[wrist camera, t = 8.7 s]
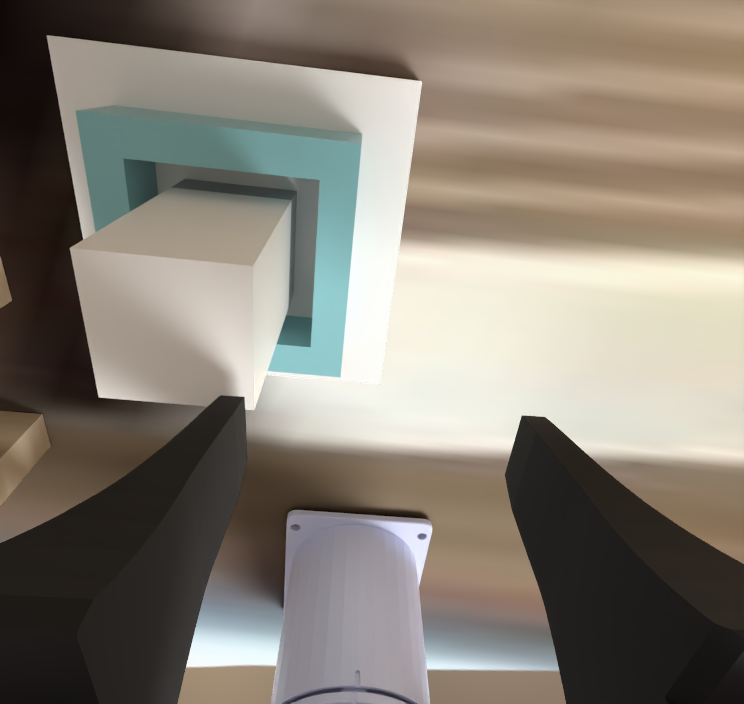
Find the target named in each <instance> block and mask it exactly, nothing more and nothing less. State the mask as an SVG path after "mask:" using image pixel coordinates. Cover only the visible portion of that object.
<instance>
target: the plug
mask: <svg viewBox="0 0 744 704" xmlns="http://www.w3.org/2000/svg"><path fill="white" fill-rule="evenodd" d="M296 205H297V191H294V190H285V189H276V188H266V187H257V186H248V185H239V184H229V183H220V182H211V181H202V180H192V179H184V180H182V181H181V182H179V183H177V184H176V185H174V186H172V187H171V188H169V189H167V190H166V191H164V192H162V193H161V194H159V195H157V196H156V197H154V198H152V199H151V200H149V201H147V202H146V203H144V204H142V205H141V206H139V207H137V208H136V209H134V210H132V211H131V212H129V213H127V214H126V215H124V216H122V217H121V218H119V219H117V220H116V221H114V222H112V223H111V224H109V225H107V226H106V227H104V228H102V229H101V230H99V231H97V232H96V233H94V234H92V235H91V236H89V237H87V238H86V239H84V240H82V241H81V242H79V243H77V244H76V245H74V246H72V247H71V248H70V252H71V257H72V262H73V268H74V273H75V278H76V283H77V288H78V293H79V299H80V304H81V309H82V314H83V319H84V324H85V329H86V335H87V340H88V345H89V350H90V355H91V360H92V366H93V371H94V376H95V381H96V386H97V391H98V396H99V398H112V399H124V400H136V401H148V402H160V403H172V404H185V405H197V406H209V405H210V404H211V403H212V402H213V401H214V400H215V399H217V398H218V397H219V396H220V395H224V396H239V397H245V409H246V410H255V407H256V404H257V401H258V398H259V395H260V392H261V389H262V386H263V383H264V380H265V377H266V374H267V371H268V368H269V365H270V362H271V359H272V356H273V353H274V350H275V347H276V344H277V341H278V338H279V335H280V332H281V329H282V326H283V323H284V320H285V317H286V314H287V311H288V308H289V305H290V302H291V299H292V296H293V293H294V265H295V235H296Z"/></svg>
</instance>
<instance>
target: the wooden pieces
mask: <svg viewBox="0 0 744 704" xmlns="http://www.w3.org/2000/svg"><path fill="white" fill-rule="evenodd" d="M11 301H12V298H11V294H10V291H9V287H8V283H7V279H6V276H5V272H4V268H3V264H2V261H1V257H0V308H1V307H3V306H5V305H6V304H8V303H9V302H11ZM50 446H51V445H50V441H49V437H48V433H47V430H46V426H45V422H44V418H43V415H42V414H36V413H23V412H11V411H0V506H1V505H2V503H3V502H4V501H5V500H6V499H7V497H8V496H9V495H10V494H11V493H12V492H13V490H14V489H15V488H16V487H17V486H18V484H19V483H20V482H21V481H22V480H23V478H24V477H25V476H26V475H27V474H28V473H29V471H30V470H31V469H32V468H33V467H34V465H35V464H36V463H37V462H38V461H39V459H40V458H41V457H42V456H43V455H44V454H45V452H46V451H47V450H48V449H49V448H50Z"/></svg>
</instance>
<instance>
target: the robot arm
mask: <svg viewBox="0 0 744 704" xmlns="http://www.w3.org/2000/svg"><path fill="white" fill-rule="evenodd" d="M246 462H247V441H246V418H245V397H239V396H224V395H220V396H219V397H218V398H217V399H215V400H214V401H213V402H212V403H211V404H210V405H209V406H208V407H207V408H206V409H205V410H204V411H203V412H202V413H200V414H199V415H198V416H197V417H196V418H195V419H194V420H193V421H192V422H191V423H190V424H189V425H188V426H186V427H185V428H184V429H183V430H182V431H181V432H180V433H179V434H177V435H176V436H175V437H174V438H173V439H172V440H171V441H169V442H168V443H167V444H166V445H165V446H163V447H162V448H161V449H160V450H158V451H157V452H156V453H155V454H153V455H152V456H151V457H150V458H148V459H147V460H146V461H145V462H143V463H142V464H141V465H139V466H138V467H137V468H135V469H134V470H133V471H131V472H130V473H128V474H127V475H126V476H124V477H123V478H121V479H120V480H118V481H117V482H115V483H113V484H112V485H110V486H109V487H107V488H106V489H104V490H103V491H101V492H99V493H98V494H96V495H94V496H92V497H91V498H89V499H87V500H85V501H84V502H82V503H80V504H78V505H77V506H75V507H73V508H71V509H69V510H68V511H66V512H64V513H62V514H61V515H59V516H57V517H55V518H53V519H51V520H49V521H47V522H45V523H43V524H41V525H39V526H37V527H35V528H33V529H30V530H28V531H26V532H24V533H22V534H20V535H18V536H15V537H13V538H11V539H9V540H7V541H4V542H2V543H0V704H177V703H178V698H179V694H180V690H181V685H182V681H183V676H184V672H185V668H186V664H187V660H188V656H189V651H190V647H191V643H192V639H193V635H194V631H195V627H196V623H197V619H198V615H199V611H200V608H201V604H202V600H203V596H204V592H205V589H206V585H207V582H208V579H209V576H210V573H211V570H212V567H213V565H214V562H215V559H216V556H217V554H218V551H219V548H220V546H221V543H222V540H223V537H224V535H225V532H226V529H227V527H228V524H229V521H230V518H231V516H232V513H233V510H234V507H235V505H236V502H237V499H238V496H239V493H240V489H241V485H242V480H243V476H244V472H245V467H246ZM505 477H506V483H507V488H508V493H509V498H510V503H511V507H512V511H513V514H514V517H515V520H516V523H517V526H518V529H519V532H520V535H521V538H522V541H523V543H524V546H525V549H526V552H527V555H528V558H529V560H530V563H531V566H532V569H533V572H534V575H535V577H536V580H537V583H538V586H539V589H540V592H541V596H542V599H543V602H544V605H545V609H546V613H547V618H548V622H549V626H550V630H551V634H552V639H553V643H554V647H555V652H556V656H557V661H558V666H559V670H560V675H561V680H562V684H563V689H564V694H565V700H566V704H744V564H742V563H741V562H739V561H737V560H735V559H733V558H732V557H730V556H728V555H726V554H724V553H723V552H721V551H719V550H718V549H716V548H714V547H713V546H711V545H709V544H708V543H706V542H704V541H702V540H701V539H699V538H697V537H696V536H694V535H693V534H691V533H689V532H688V531H686V530H685V529H683V528H682V527H680V526H678V525H677V524H675V523H674V522H673V521H671V520H670V519H668V518H667V517H665V516H664V515H662V514H661V513H660V512H658V511H657V510H655V509H654V508H652V507H651V506H650V505H648V504H647V503H645V502H644V501H643V500H641V499H640V498H639V497H637V496H636V495H635V494H634V493H632V492H631V491H630V490H629V489H627V488H626V487H625V486H624V485H622V484H621V483H620V482H619V481H617V480H616V479H615V478H614V477H613V476H611V475H610V474H609V473H608V472H607V471H605V470H604V469H603V468H602V467H601V466H600V465H598V464H597V463H596V462H595V461H594V460H593V459H592V458H590V457H589V456H588V455H587V454H586V453H585V452H584V451H583V450H582V449H580V448H579V447H578V446H577V445H576V444H575V443H574V442H573V441H572V440H571V439H569V438H568V437H567V436H566V435H565V434H564V433H563V432H562V431H561V430H559V429H558V428H557V427H556V426H555V425H554V424H553V423H551V422H550V421H549V420H548V419H547V418H545V417H536V416H522V417H521V421H520V424H519V428H518V431H517V435H516V438H515V442H514V445H513V449H512V452H511V456H510V459H509V462H508V466H507V469H506V473H505ZM294 524H296V525H294ZM420 533H423V534H420ZM431 533H432V523H431V522H430V521H429V520H427V519H420V518H406V517H391V516H377V515H363V514H349V513H335V512H321V511H307V510H292V511H290V512H289V513H288V516H287V527H286V557H285V586H284V620H283V626H282V633H281V639H280V646H279V652H278V659H277V665H276V672H275V678H274V685H273V691H272V698H271V704H430V699H429V688H428V678H427V667H426V657H425V647H424V637H423V626H422V616H421V606H420V596H419V584H420V579H421V575H422V571H423V567H424V563H425V559H426V554H427V550H428V546H429V542H430V538H431Z"/></svg>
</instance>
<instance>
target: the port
mask: <svg viewBox="0 0 744 704" xmlns="http://www.w3.org/2000/svg"><path fill="white" fill-rule="evenodd" d="M47 40H48V46H49V51H50V57H51V63H52V68H53V74H54V79H55V85H56V91H57V96H58V102H59V107H60V113H61V119H62V124H63V130H64V135H65V141H66V146H67V152H68V158H69V163H70V169H71V174H72V180H73V186H74V191H75V197H76V202H77V208H78V214H79V219H80V225H81V230H82V236H83V240H84V239H86V238H87V237H89V236H91V235H92V234H94V233H96V232H97V231H99V230H101V229H102V228H104V227H106V226H107V225H109V224H111V223H112V222H114V221H116V220H117V219H119V218H121V217H122V216H124V215H126V214H127V213H129V212H131V211H132V210H134V209H136V208H137V207H139V206H141V205H142V204H144V203H146V202H147V201H149V200H151V199H152V198H154V197H156V196H157V195H159V194H161V193H162V192H164V191H166V190H167V189H169V188H171V187H172V186H174V185H176V184H177V183H179V182H181V181H182V180H184V179H192V180H202V181H211V182H220V183H229V184H239V185H248V186H257V187H266V188H276V189H285V190H294V191H297V205H296V235H295V265H294V293H293V296H292V299H291V302H290V305H289V308H288V311H287V314H286V317H285V320H284V323H283V326H282V329H281V332H280V335H279V338H278V341H277V344H276V347H275V350H274V353H273V356H272V359H271V362H270V365H269V368H268V371H267V374H266V375H272V376H284V377H295V378H307V379H319V380H330V381H342V382H353V383H365V384H376V385H380V383H381V376H382V369H383V362H384V354H385V347H386V340H387V333H388V325H389V318H390V311H391V304H392V296H393V289H394V282H395V275H396V267H397V260H398V253H399V246H400V238H401V231H402V224H403V217H404V209H405V202H406V195H407V188H408V180H409V173H410V166H411V159H412V151H413V144H414V137H415V130H416V122H417V115H418V108H419V100H420V93H421V86H422V81H417V80H409V79H401V78H393V77H384V76H376V75H368V74H360V73H352V72H344V71H336V70H327V69H319V68H311V67H303V66H295V65H287V64H279V63H270V62H262V61H254V60H246V59H238V58H230V57H222V56H213V55H205V54H197V53H189V52H181V51H173V50H165V49H156V48H148V47H140V46H132V45H124V44H116V43H108V42H100V41H91V40H83V39H75V38H67V37H58V36H49V35H47Z"/></svg>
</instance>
